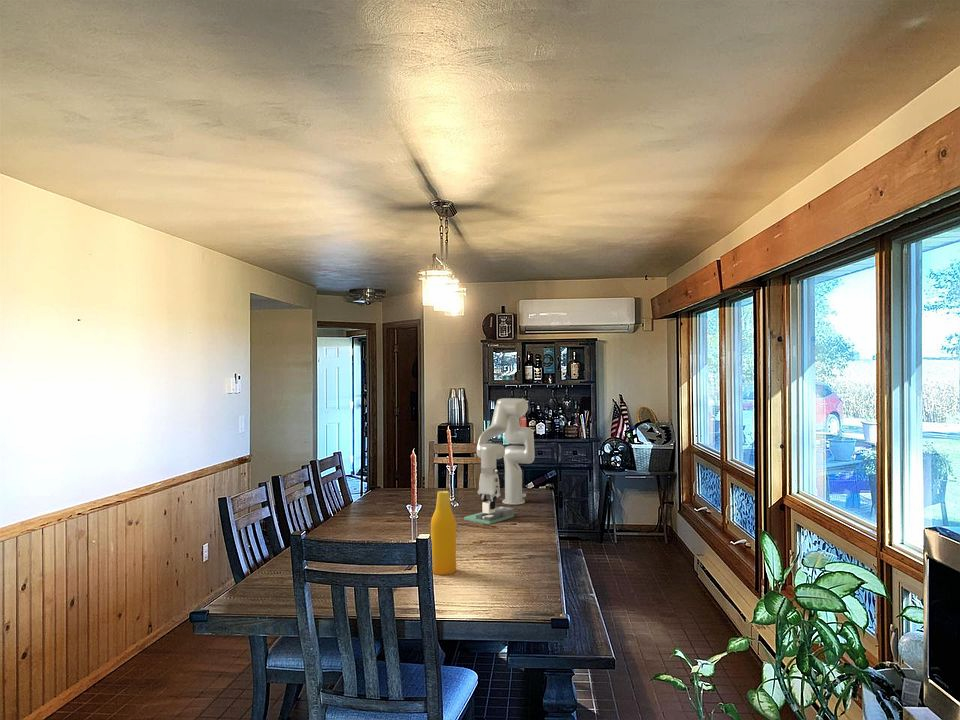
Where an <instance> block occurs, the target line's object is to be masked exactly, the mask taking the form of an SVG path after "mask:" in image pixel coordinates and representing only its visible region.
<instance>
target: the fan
mask: <svg viewBox="0 0 960 720" xmlns="http://www.w3.org/2000/svg"><path fill="white" fill-rule="evenodd" d="M493 513H497V514H502V517H507V516H511V515H514V516H515V508H513V507H506V506H499V507H498V506H497V507H495V512H493Z"/></svg>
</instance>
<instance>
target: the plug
mask: <svg viewBox="0 0 960 720" xmlns="http://www.w3.org/2000/svg"><path fill="white" fill-rule="evenodd" d="M490 501H491V500H488V501H486V502H483V501H482V506H481V507H482V508H481V509H482V511H481V512H482V513H487V514H490V513H493V512H495V509H492V510H491V509H490Z"/></svg>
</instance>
